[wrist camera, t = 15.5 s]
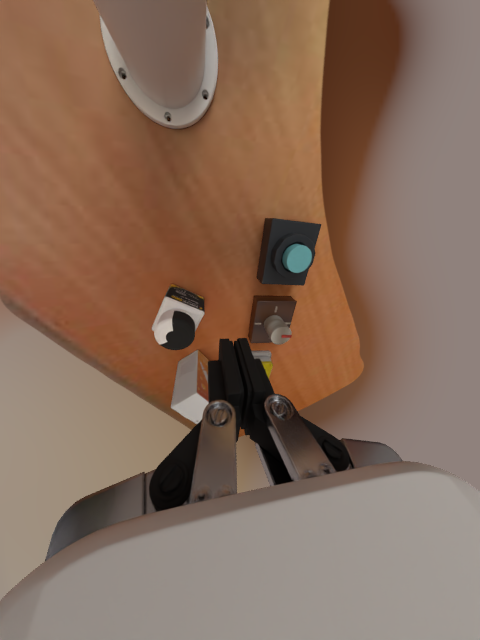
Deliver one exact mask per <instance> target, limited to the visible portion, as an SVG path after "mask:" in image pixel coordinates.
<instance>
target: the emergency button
mask: <svg viewBox="0 0 480 640" xmlns="http://www.w3.org/2000/svg"><path fill="white" fill-rule="evenodd" d="M252 354H253V357H254V359H256V358H259V359H260V360H261V362H262V364H263V366H264V369H265V371H266V374H267V376H268V379H269V376H270V373H271V369H272V366H273V364H272V361H271V352H270V351H252Z"/></svg>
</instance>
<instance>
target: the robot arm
mask: <svg viewBox="0 0 480 640" xmlns="http://www.w3.org/2000/svg"><path fill="white" fill-rule="evenodd" d="M93 2H94V4H95V6H96V8H97V10H98V12H99V15H100V24H101V32H102V36H103V41H104V45H105V49H106V52H107V55H108V58H109V60H110V63H111V66H112V68H113V70H114V72H115V74H116V76H117V78H118V80H119V82H120V84H121V86H122V87H123V89H124V91H125V92H126V94H127V95H128V96H129V98H130V99H131V100H132V102H133V103H134V104H135V105H136V106H137V108H138V109H139V110H140V111H141V112H142V113H143V114H144V115H146V116H147V117H148V118H150V119H151V120H152V121H154V122H156V123H158V124H160V125H162V126H165V127H168V128H172V129H182V128H186V127H189V126H191V125H193V124H195V123H196V122H198V121H199V120H200V119H201V118H202V117H203V116H204V114H205V113H206V111H207V110H208V108H209V106H210V104H211V101H212V99H213V96H214V92H215V88H216V83H217V74H218V51H217V41H216V36H215V31H214V26H213V22H212V19H211V16H210V13H209V10H208V7H207V0H93ZM206 27H207V29H206ZM123 76H126V77H127V78H126V79H123ZM204 96H206V97H207V100H205V99H204V98H203V97H204ZM168 117H169V118H171V121H168V120H167V118H168ZM208 399H209V404H208V405H207V406H206V407H205V409H204V412H203V416H202V420H201V421H200V422H199V423H198V424H197V425H196V426H195V427H194V428H193V429H192V430H191V431H190V433H189V434H188V435H187V436H186V437H185V438H184V439H183V440H182V441H181V442H180V443H179V444H178V445H177V446H176V448H175V449H174V450H173V451H172V452H171V453H170V454H169V455H168V456H167V457H166V458H165V459H164V460H163V461H162V462H161V464H160V465H159V466H158V467H157V469H155V470H153V471H150V472H148V473H146V474H145V473H144V472H142V473H140V474H138V475H135V476H133V477H130V478H128V479H126V480H123V481H121V482H119V483H116V484H114V485H112V486H109V487H107V488H104V489H102V490H100V491H97V492H95V493H92V494H90V495H88V496H85V497H84V498H82V499H80V500H79V501H77V502H75V503H74V504H73V505H72V506H71V507H70V508H69V509H68V510H67V511H66V512H65V513H64V514H63V516H62V517H61V519H60V520H59V521H58V523H57V526H56V528H55V530H54V532H53V535H52V538H51V542H50V545H49V549H48V552H47V556H46V559H45V562H44V563H42V564H41V565H40V566H38V567H37V568H36V569H35V570H33V571H32V572H31V573H30V574H28V575H27V576H26V577H25V578H24V579H22V580H21V581H20V582H19V583H18V584H17V585H16V586H15V587H14V588H12V589H11V590H10V591H9V592H8V593H7V594H6V595H5V596H4V597H3V598H2V599H1V601H0V640H480V492H479V491H478V490H477V489H476V488H474V487H473V486H472V485H470V484H469V483H467V482H466V481H464V480H463V479H461V478H460V477H458V476H456V475H454V474H452V473H450V472H447V471H445V470H442V469H440V468H437V467H434V466H430V465H427V464H422V463H418V462H410V461H402V459H401V458H400V457H399V455H398V454H397V453H396V452H395V451H394V450H393V449H391V448H390V447H389V446H387V445H385V444H382V443H378V442H370V441H361V440H353V439H344V438H342V439H341V440H338V439H337V438H335V437H334V436H332V435H331V434H329V433H327V432H326V431H324V430H323V429H321V428H319V427H318V426H316V425H314V424H313V423H311V422H309V421H308V420H306V419H304V418H303V417H301V416H300V415H299V413H298V412H297V410H296V409H295V407H294V406H293V404H292V403H291V401H290V400H289V399H287V398H286V397H285V396H282V395H279V394H275V393H274V391H273V388H272V386H271V383H270V381H269V379H268V376H267V374H266V371H265V369H264V366H263V364H262V362H261V360H260V359H259V358H256V359H254V357H253V354H252V351H251V349H250V346H249V343H248V340H247V338H238V339H237V341H234V346H233V342H232V341H229V339H220V342H219V360H218V361H208ZM240 427H241V429H244V430H245V435H250V439H252V440H253V441H254V442H255V446H256V449H257V452H258V454H259V457H260V460H261V462H262V465H263V468H264V470H265V473H266V475H267V478H268V481H269V484H270V487H265V488H261V489H256V490H251V491H247V492H242V493H238V494H237V471H236V442H237V441H238V436H239V430H240Z"/></svg>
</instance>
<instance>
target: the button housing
mask: <svg viewBox="0 0 480 640" xmlns="http://www.w3.org/2000/svg"><path fill="white" fill-rule="evenodd" d="M320 227H321V224H315V223H307V222H298V221H290V220H282V219H274V218H265V224H264V231H263V238H262V245H261V251H260V258H259V265H258V272H257V279H258V280H259V281H260V282H261V283H262V284H282V285H304V284H305V280H306V277H307V273H308V269H309V268H310V267H311V265H312V263H313V260H314V256H315V249H314V248H315V245H316V241H317V238H318V234H319V231H320ZM293 244H300V245H304V246H306V247H308V248H309V249H310V251H311V254H312V259H311V262H310V265H309V266H308V267H307V268H306V269H305V270H304V271H302V272H300V273H294V272H291V271H290V270H288V269H287V268H285V267H284V265H283V262H282V257H283V254H284V252H285V250H286V249H287V248H288V247H289V246H291V245H293Z"/></svg>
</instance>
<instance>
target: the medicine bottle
mask: <svg viewBox="0 0 480 640" xmlns="http://www.w3.org/2000/svg"><path fill="white" fill-rule="evenodd" d="M203 315H204V298H203V297H201V296H199V295H196V294H194V293H192V292H190V291H187V290H185V289H183V288H180V287H178V286H176V285H174V284H171V285H170V286H169V289H168V291H167V293H166V295H165V297H164V299H163V302H162V304H161V307H160V309H159V312H158V314H157V316H156V319H155V321H154V324H153V326H152V330H153V331H154V336H155V339H156V341H157V342H158V343H159V344H160V345H161V346H163V347H165V348H167V349H170V350H180V349H184V348H186V347H188V346H189V345H190V344H191V343H192V342H193V340H194V337H195V331H196V329H197V327H198V325H199V323H200V321H201V319H202V317H203Z"/></svg>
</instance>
